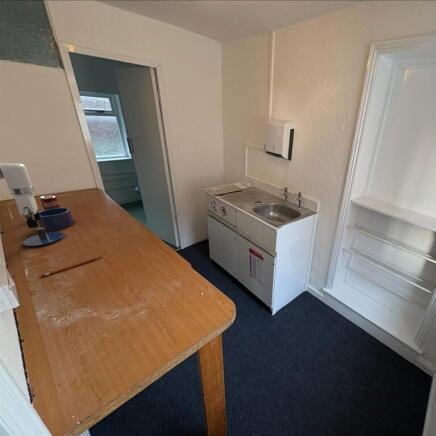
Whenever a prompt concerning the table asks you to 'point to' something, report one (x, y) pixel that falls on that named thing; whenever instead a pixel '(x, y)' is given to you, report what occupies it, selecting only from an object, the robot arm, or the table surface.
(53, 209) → the pot
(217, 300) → the table surface
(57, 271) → the pencil
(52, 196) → the soda can
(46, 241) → the lid
